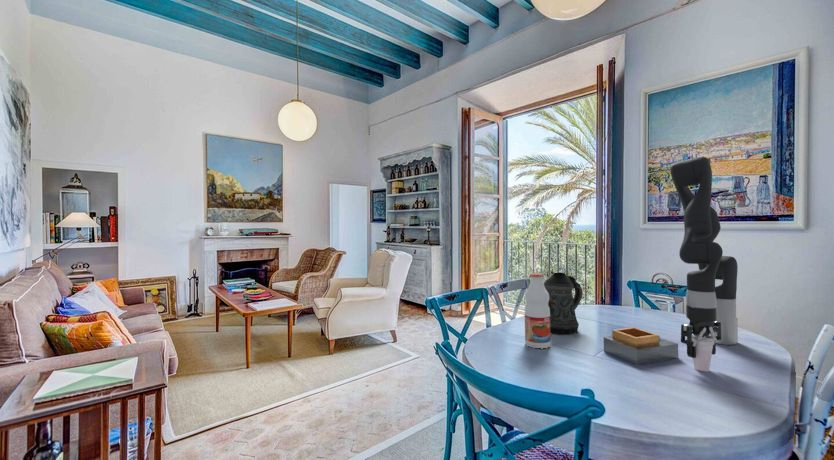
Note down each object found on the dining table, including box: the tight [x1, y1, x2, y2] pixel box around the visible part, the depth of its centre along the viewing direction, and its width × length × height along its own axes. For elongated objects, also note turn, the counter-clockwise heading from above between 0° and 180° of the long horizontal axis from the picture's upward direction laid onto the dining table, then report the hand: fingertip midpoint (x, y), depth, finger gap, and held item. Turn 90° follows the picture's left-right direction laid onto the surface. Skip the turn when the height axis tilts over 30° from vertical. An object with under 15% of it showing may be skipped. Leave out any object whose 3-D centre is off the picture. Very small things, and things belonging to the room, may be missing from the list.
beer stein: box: [543, 272, 583, 336], centre depth 157 cm, size 16×19×25 cm
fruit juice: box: [524, 272, 552, 350], centre depth 136 cm, size 9×9×28 cm
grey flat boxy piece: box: [603, 326, 679, 366], centre depth 125 cm, size 21×14×8 cm, turn 106°
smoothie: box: [692, 337, 714, 372], centre depth 111 cm, size 6×6×14 cm
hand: (701, 355), depth 111 cm, fingers open, 8 cm apart
